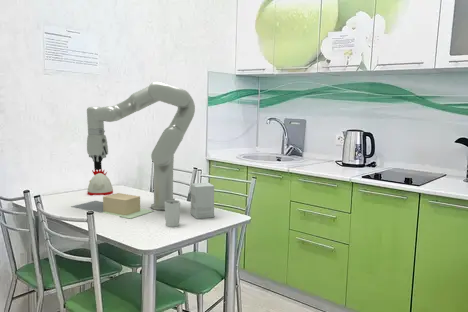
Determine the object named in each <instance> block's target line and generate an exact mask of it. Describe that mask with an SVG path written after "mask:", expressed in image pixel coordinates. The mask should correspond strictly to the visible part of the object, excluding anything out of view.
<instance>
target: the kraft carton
mask: <svg viewBox="0 0 468 312" xmlns="http://www.w3.org/2000/svg"><path fill="white" fill-rule="evenodd" d="M102 202H103V211H105V212H111V213H116V214H121V215H128V214H131V213H135V212H138V211H140V208H141V196H140V195H132V194H126V193H120V192H118V193H114V194H110V195H103V196H102Z"/></svg>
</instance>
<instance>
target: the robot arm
mask: <svg viewBox="0 0 468 312" xmlns="http://www.w3.org/2000/svg"><path fill="white" fill-rule="evenodd" d="M158 102H162V103H164V104H168V105H172V106H175V107H177V111H176V113H175V114H174V116H173V118H172V120H171V122H170V123H169V125H168V126H167V127H166V128H165V129H163V132H162V133H161V135H160V136H159V139H158V141H157V142H156V143H155V146H154V148H153V149H152V152H151V155H150V157H151V161H152V162H153V203H152V204H150V208H151V210H155V211H165V201H168V200H176V199H175V198H174V162H175V160H174V158H175V157H174V156H175V155H174V154H175V153H176V151H177V150H178V149H179V146H180V144H181V142H182V141H183V140H184V136H185V135H186V132H187V131H188V130H189V129H188V128H189V127H190V125H191V122H192V120H193V119H194V116H195V112H196V106H195V104H196V103H195V102H194V99H193V97H192V96H191V94H190V93H189V91H187V90H185V89H183V88H179V87H177V86H173V85H171V84H170V85H169V84H166V83H163V82H161V81H157V80H156V81H153V82H151V83H150V84H149V85H148V86H145V87H144V88H142V89H140V90H138V91H136V92H133V93H132V94H130V95H129V97H128V98H126V99H125V100H124V101H120V102H119V103H117V104H115V105H109V106H90V107H89V106H88V107H87V109H86V121H87V122H86V123H87V138H86V152H87V154H88V158H91V159H92V162H93V166H94V168H93V170H94V171H95V170H96V171H98V170H99V171H100V170H101V169H102V162H103V159H106V158H107V155H109V148H108V147H109V146H108V141H107V136H106V134H105V132H106V130H105V123H104V122H107V123H108V122H109V123H112V122H117V121H120V120H122V119H124V118H126V117H128V116H131V115H132V114H134V113H136V112H139V111H141V110H143V109H146V108H147V107H150V106H152V105H154V104H155V103H158ZM102 170H103V169H102Z"/></svg>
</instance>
